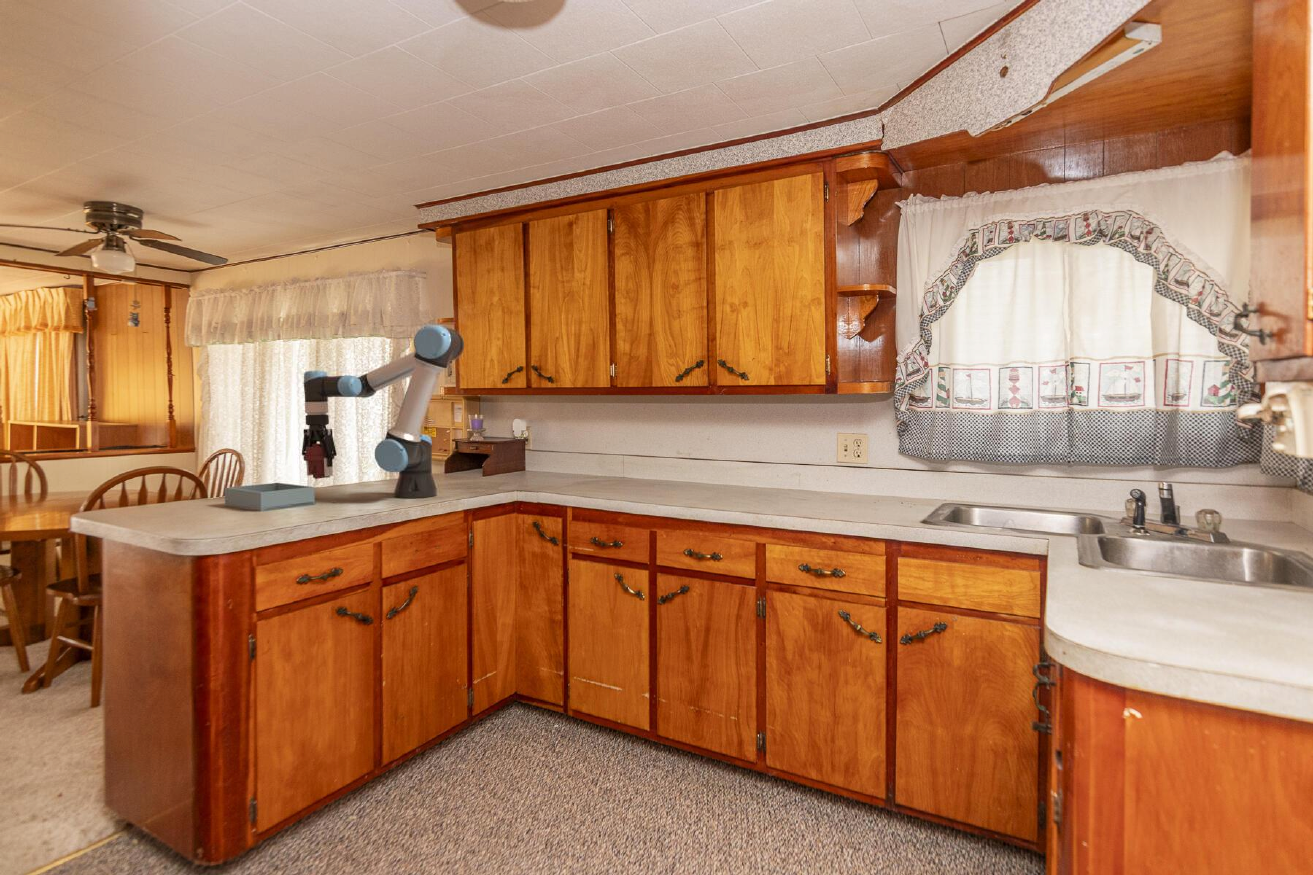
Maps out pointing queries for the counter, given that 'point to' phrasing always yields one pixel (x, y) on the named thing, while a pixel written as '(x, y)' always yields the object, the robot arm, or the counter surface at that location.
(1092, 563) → the counter surface
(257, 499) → the tote
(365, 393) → the robot arm
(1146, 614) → the counter surface
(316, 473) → the mechanical component
